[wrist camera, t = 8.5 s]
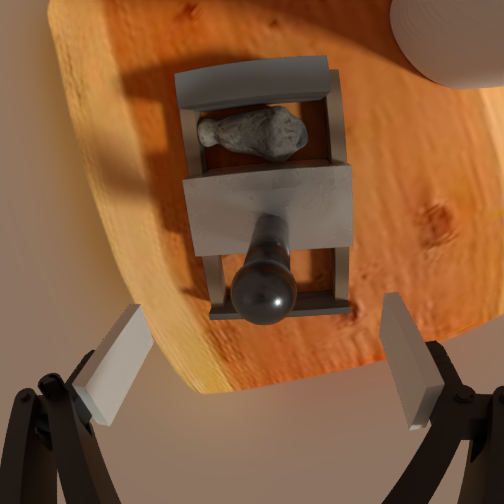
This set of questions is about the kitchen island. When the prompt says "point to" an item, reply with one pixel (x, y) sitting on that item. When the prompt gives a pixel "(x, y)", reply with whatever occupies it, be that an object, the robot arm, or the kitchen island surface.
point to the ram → (269, 224)
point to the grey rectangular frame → (252, 94)
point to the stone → (257, 133)
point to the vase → (452, 40)
